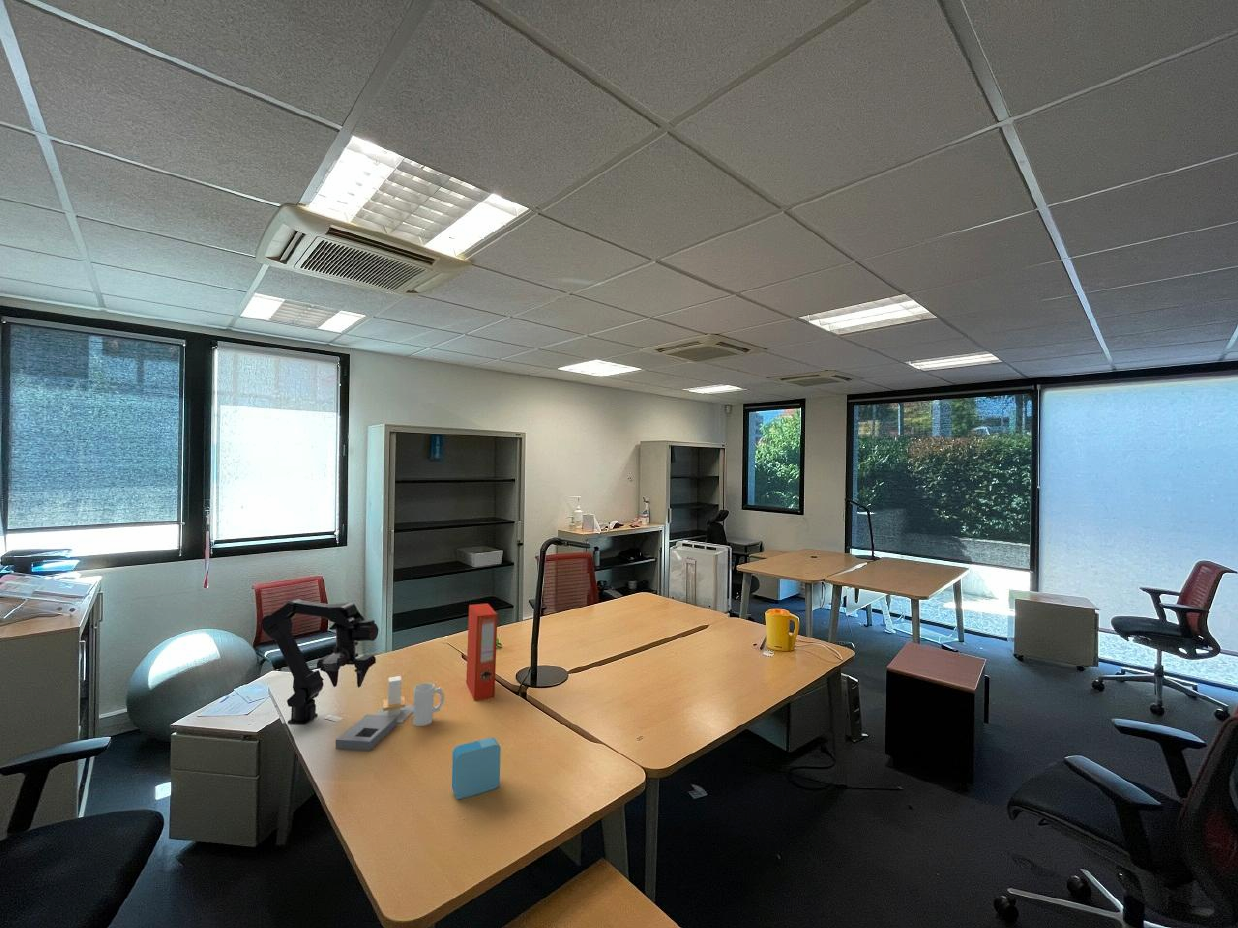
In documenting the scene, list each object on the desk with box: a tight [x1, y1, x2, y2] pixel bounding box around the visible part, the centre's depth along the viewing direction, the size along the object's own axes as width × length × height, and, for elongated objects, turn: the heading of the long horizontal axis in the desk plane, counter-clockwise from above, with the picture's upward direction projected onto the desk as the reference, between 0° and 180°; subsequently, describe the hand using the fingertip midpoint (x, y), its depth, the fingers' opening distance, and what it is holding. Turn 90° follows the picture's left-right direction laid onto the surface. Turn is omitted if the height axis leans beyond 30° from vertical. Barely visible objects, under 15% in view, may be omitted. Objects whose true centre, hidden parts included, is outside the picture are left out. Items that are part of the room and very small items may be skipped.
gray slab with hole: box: [335, 714, 398, 752], centre depth 158 cm, size 11×16×3 cm
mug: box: [412, 682, 445, 727], centre depth 169 cm, size 10×7×12 cm, turn 116°
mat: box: [374, 704, 413, 724], centre depth 173 cm, size 12×12×1 cm
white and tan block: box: [382, 675, 406, 716], centre depth 173 cm, size 7×7×12 cm
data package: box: [451, 737, 502, 800], centre depth 133 cm, size 12×4×12 cm, turn 120°
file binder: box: [465, 603, 499, 701], centre depth 195 cm, size 8×17×32 cm, turn 27°
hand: (347, 686), depth 168 cm, fingers open, 9 cm apart
